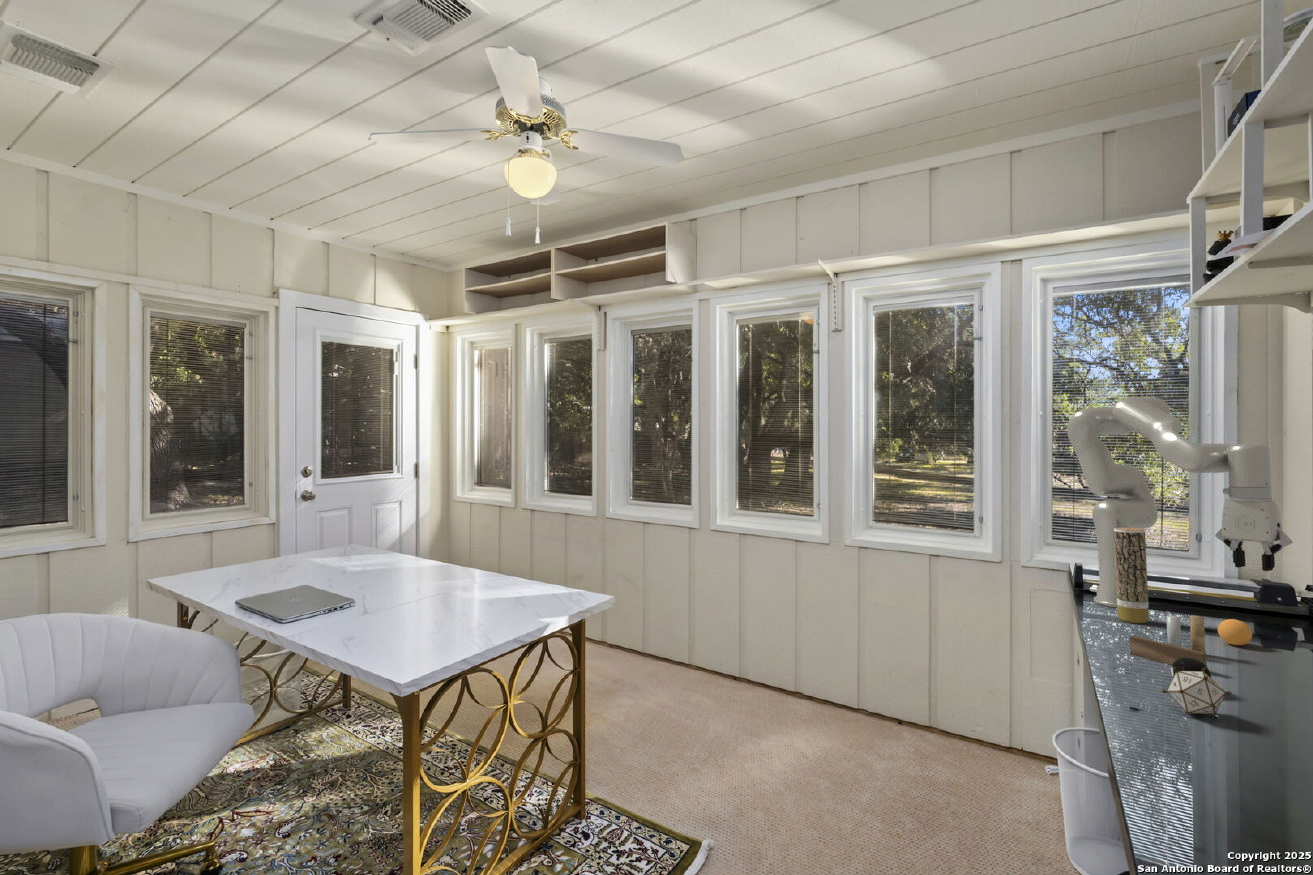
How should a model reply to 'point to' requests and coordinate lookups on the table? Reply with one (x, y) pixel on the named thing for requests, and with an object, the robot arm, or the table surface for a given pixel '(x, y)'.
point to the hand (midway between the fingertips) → (1253, 567)
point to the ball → (1235, 632)
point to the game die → (1196, 692)
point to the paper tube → (1131, 575)
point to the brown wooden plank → (1162, 651)
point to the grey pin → (1173, 630)
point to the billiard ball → (1189, 666)
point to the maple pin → (1197, 633)
